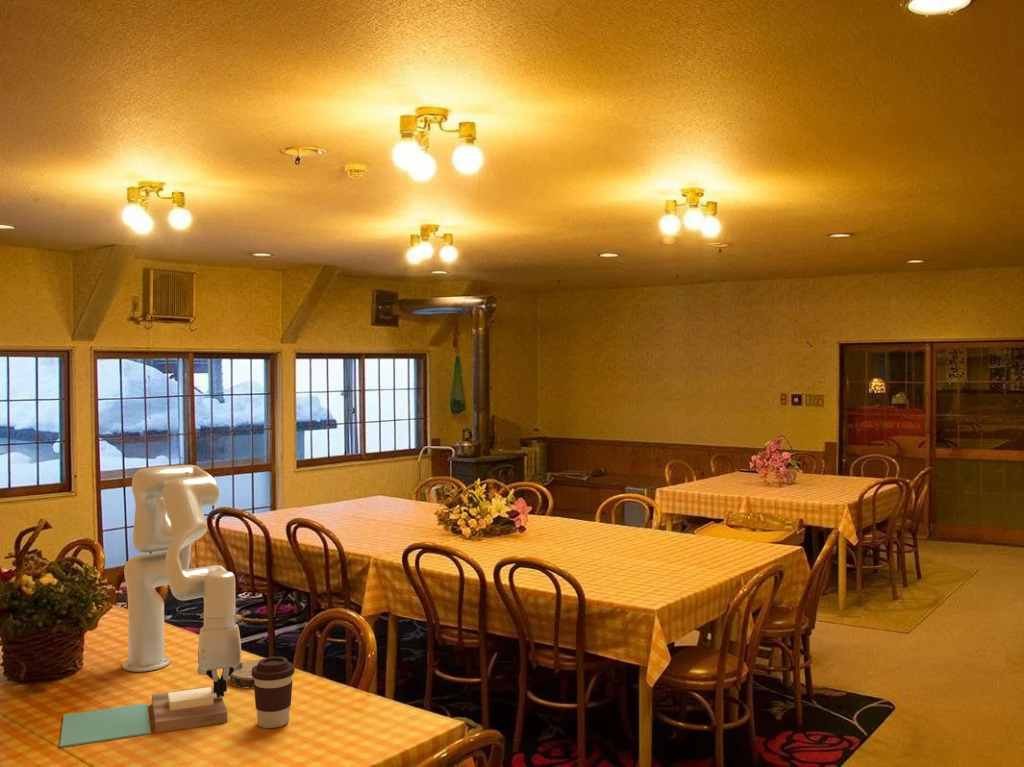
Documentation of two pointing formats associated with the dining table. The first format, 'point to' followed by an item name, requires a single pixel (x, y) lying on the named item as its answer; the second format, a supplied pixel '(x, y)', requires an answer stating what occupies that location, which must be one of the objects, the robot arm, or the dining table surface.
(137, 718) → the mat
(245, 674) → the wood slice coaster
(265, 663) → the coffee cup
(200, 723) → the panel
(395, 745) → the dining table surface
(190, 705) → the cream foam board
